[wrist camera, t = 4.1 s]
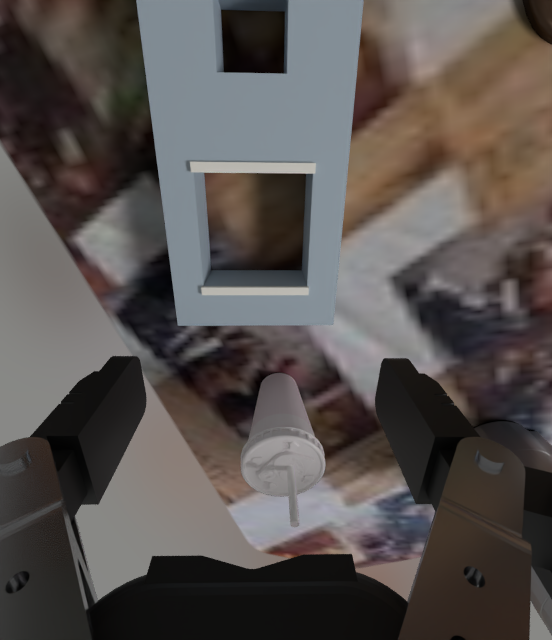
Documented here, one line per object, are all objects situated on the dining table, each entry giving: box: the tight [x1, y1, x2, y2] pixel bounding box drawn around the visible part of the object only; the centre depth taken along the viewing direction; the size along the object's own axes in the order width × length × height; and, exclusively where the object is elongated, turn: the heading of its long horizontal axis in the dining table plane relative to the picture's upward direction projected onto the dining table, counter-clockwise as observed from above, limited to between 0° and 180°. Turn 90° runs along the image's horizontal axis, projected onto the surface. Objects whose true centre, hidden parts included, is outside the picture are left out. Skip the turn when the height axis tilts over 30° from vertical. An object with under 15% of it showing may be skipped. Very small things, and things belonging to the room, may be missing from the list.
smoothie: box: [241, 373, 325, 527], centre depth 27 cm, size 6×6×14 cm
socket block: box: [136, 0, 363, 326], centre depth 22 cm, size 12×24×4 cm, turn 179°
